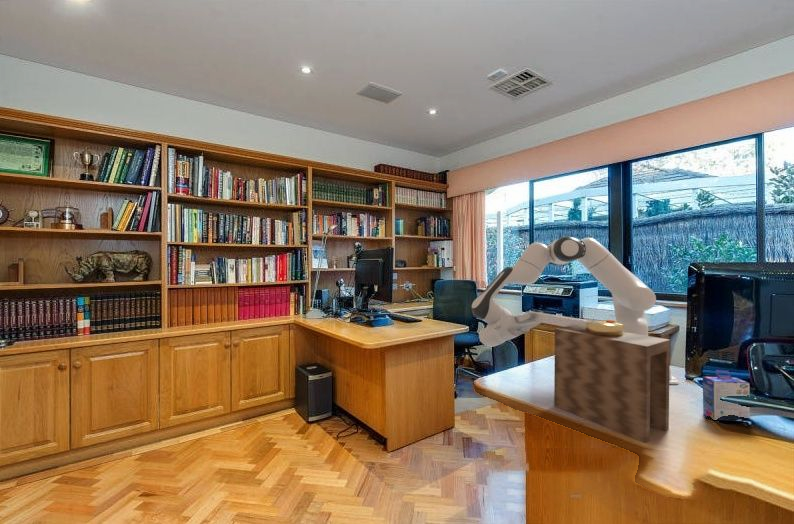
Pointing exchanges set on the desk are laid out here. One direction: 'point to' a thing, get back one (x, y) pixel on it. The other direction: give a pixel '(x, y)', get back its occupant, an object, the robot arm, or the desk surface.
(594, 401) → the chevron wooden end table
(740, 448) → the desk surface
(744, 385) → the ink cartridge box
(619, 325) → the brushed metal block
